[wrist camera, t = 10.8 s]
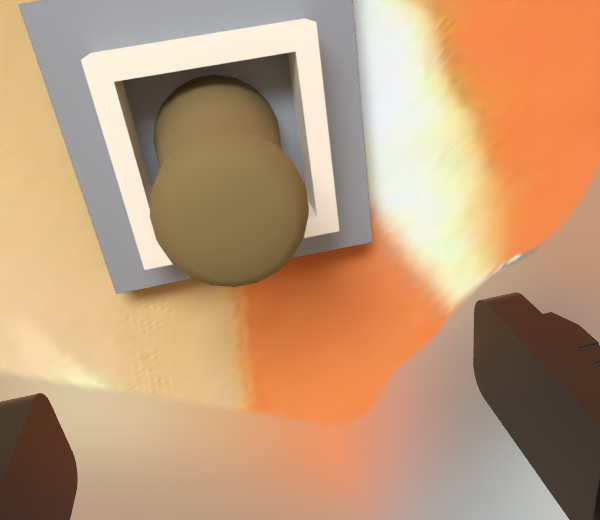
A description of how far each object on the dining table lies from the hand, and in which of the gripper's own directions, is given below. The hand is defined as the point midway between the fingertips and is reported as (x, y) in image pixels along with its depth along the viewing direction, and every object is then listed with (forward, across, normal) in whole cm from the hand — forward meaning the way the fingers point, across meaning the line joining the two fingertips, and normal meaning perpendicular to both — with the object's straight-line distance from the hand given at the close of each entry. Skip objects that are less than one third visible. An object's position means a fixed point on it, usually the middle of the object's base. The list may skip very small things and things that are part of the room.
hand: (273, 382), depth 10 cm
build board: (+20, 0, 0) cm, 20 cm away
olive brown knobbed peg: (+19, 0, 0) cm, 19 cm away
